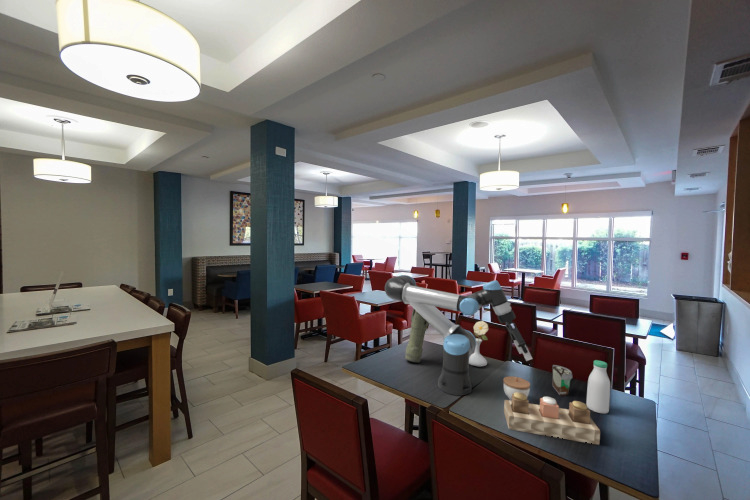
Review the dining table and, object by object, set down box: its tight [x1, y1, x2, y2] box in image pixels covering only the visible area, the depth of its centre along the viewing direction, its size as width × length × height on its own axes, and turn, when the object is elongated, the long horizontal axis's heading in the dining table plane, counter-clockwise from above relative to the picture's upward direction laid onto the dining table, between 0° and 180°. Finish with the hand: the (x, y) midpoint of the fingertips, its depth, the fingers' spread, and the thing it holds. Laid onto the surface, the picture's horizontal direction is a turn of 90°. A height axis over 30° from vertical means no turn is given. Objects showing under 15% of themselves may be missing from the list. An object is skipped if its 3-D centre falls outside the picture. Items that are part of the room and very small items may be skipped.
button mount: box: [503, 399, 601, 446], centre depth 118 cm, size 29×12×5 cm, turn 75°
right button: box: [568, 400, 591, 424], centre depth 115 cm, size 5×5×6 cm
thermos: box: [404, 307, 430, 363], centre depth 178 cm, size 9×12×35 cm
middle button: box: [539, 396, 560, 419], centre depth 118 cm, size 5×5×6 cm
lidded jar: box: [502, 375, 531, 401], centre depth 138 cm, size 11×11×9 cm
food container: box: [552, 364, 573, 397], centre depth 147 cm, size 12×6×10 cm, turn 168°
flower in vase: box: [469, 320, 489, 367], centre depth 174 cm, size 13×11×25 cm
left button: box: [511, 392, 530, 414], centre depth 120 cm, size 5×5×6 cm
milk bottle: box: [585, 359, 611, 414], centre depth 132 cm, size 8×8×20 cm
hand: (525, 356), depth 145 cm, fingers open, 13 cm apart
